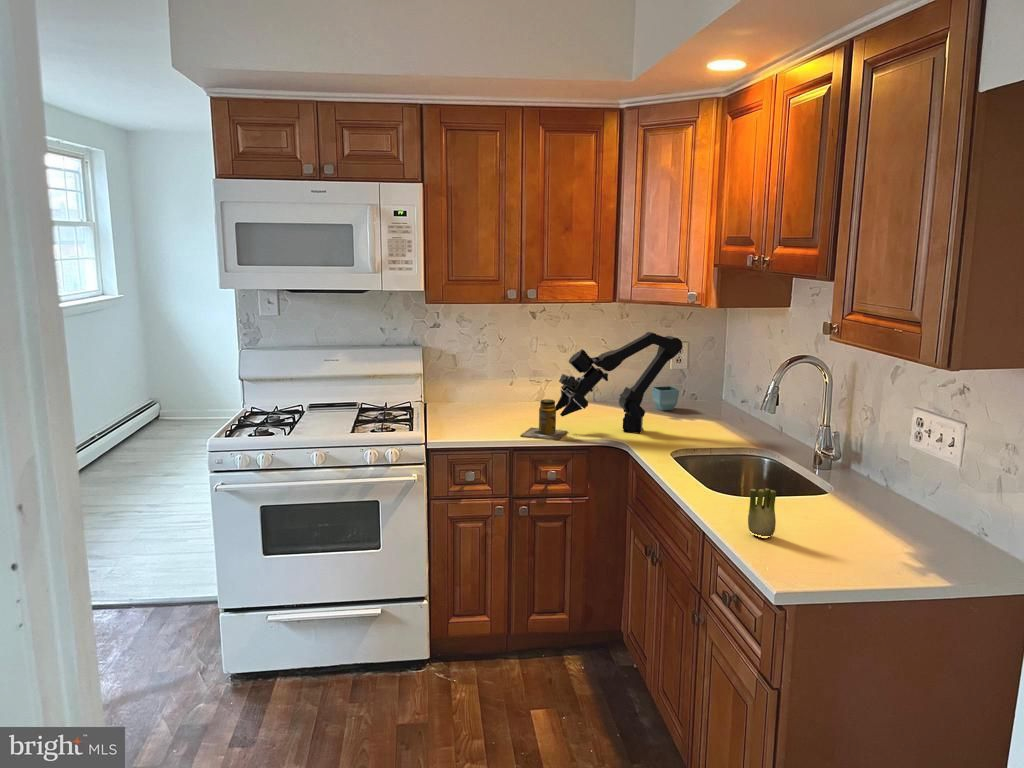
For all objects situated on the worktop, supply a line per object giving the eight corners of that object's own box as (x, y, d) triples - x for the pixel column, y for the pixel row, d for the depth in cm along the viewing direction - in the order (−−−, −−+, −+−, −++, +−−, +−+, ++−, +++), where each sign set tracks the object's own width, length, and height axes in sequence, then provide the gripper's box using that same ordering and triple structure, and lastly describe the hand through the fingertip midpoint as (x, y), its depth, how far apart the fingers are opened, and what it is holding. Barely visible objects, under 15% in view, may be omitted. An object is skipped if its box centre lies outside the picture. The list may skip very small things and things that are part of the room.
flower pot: (650, 407, 326) (651, 386, 324) (669, 406, 328) (670, 385, 326) (659, 412, 318) (660, 390, 316) (679, 411, 320) (680, 389, 318)
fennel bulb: (745, 536, 186) (748, 488, 184) (753, 530, 190) (756, 483, 188) (769, 542, 183) (772, 493, 180) (776, 536, 186) (780, 488, 184)
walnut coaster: (567, 432, 284) (567, 430, 284) (558, 440, 273) (558, 438, 273) (531, 429, 289) (531, 427, 288) (520, 436, 277) (520, 435, 277)
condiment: (560, 433, 279) (561, 401, 277) (541, 437, 275) (541, 403, 273) (548, 429, 285) (549, 397, 283) (529, 432, 281) (529, 400, 279)
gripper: (566, 362, 287) (537, 392, 287) (579, 370, 269) (548, 403, 269) (586, 382, 290) (557, 412, 290) (601, 392, 272) (570, 424, 272)
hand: (558, 412), depth 280 cm, fingers open, 9 cm apart
